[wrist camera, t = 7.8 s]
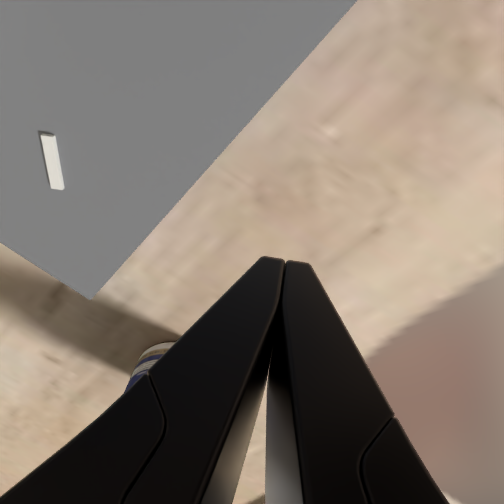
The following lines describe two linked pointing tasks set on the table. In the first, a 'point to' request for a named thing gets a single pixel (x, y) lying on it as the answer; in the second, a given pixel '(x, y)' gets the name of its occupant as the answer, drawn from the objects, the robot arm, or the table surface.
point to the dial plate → (129, 113)
